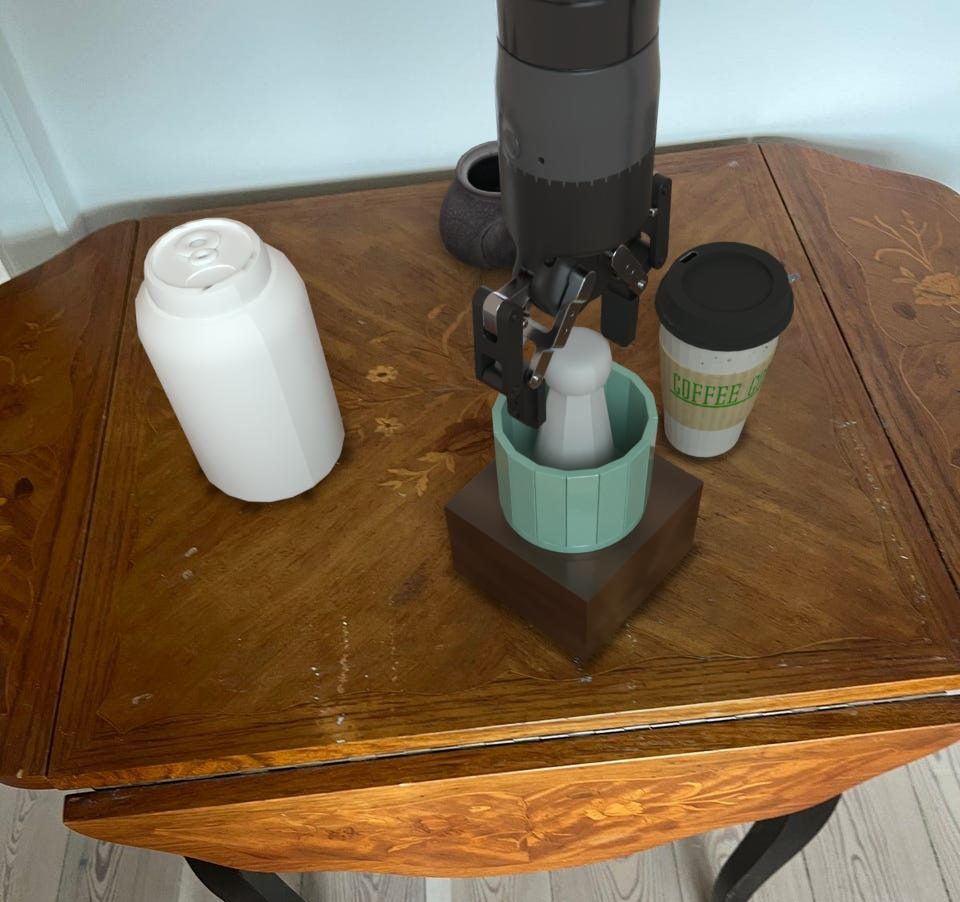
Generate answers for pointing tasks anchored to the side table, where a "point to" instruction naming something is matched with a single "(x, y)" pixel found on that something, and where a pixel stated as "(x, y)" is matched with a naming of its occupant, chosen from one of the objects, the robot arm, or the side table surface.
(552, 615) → the block
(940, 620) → the side table surface
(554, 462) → the salt shaker
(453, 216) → the teapot
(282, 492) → the can
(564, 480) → the green cup
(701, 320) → the coffee cup
